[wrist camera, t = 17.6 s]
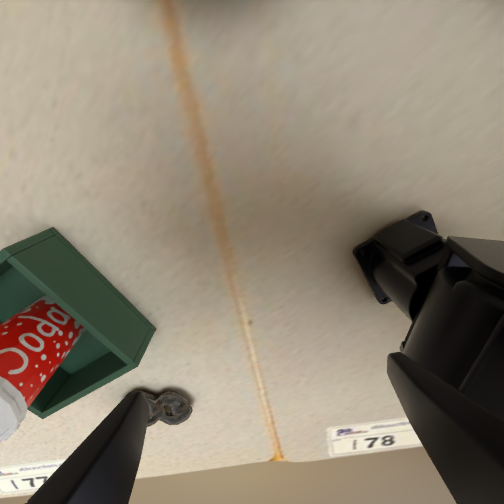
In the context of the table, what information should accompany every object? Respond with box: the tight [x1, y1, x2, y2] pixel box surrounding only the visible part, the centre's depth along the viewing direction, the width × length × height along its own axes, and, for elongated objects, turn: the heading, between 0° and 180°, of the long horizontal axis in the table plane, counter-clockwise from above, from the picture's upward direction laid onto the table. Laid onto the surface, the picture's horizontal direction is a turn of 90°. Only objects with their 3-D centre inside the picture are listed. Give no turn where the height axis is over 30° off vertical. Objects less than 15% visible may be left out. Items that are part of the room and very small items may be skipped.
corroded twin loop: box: [142, 391, 192, 427], centre depth 28 cm, size 5×8×1 cm, turn 92°
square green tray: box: [0, 227, 156, 419], centre depth 21 cm, size 12×11×4 cm
